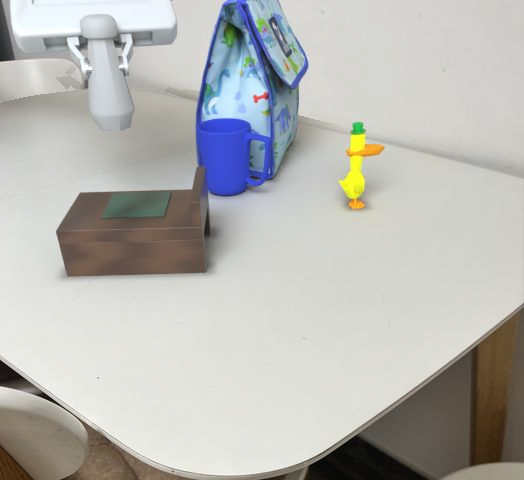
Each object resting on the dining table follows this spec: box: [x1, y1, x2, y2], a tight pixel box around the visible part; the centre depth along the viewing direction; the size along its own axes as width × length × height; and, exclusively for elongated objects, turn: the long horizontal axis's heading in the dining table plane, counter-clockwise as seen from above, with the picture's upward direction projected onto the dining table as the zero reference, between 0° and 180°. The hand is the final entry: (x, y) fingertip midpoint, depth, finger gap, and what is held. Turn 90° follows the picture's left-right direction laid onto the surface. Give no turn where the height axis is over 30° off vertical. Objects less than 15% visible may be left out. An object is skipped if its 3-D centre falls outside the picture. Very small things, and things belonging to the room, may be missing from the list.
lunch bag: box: [195, 0, 309, 181], centre depth 95 cm, size 22×17×26 cm
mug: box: [195, 118, 272, 197], centre depth 87 cm, size 8×12×10 cm
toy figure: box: [337, 121, 386, 210], centre depth 81 cm, size 7×4×12 cm, turn 106°
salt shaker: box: [80, 14, 135, 132], centre depth 72 cm, size 6×6×13 cm
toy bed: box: [55, 166, 212, 277], centre depth 72 cm, size 17×12×9 cm
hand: (106, 74), depth 71 cm, fingers closed on salt shaker, 3 cm apart
